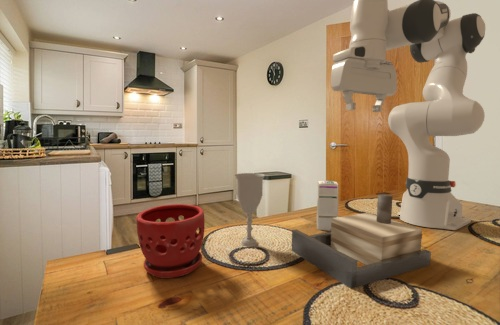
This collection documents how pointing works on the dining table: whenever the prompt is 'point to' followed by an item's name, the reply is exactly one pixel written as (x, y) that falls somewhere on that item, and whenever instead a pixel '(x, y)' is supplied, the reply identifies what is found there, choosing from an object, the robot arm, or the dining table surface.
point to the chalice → (249, 200)
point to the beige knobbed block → (374, 235)
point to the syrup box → (326, 204)
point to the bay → (352, 261)
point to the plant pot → (171, 239)
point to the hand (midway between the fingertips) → (364, 111)
